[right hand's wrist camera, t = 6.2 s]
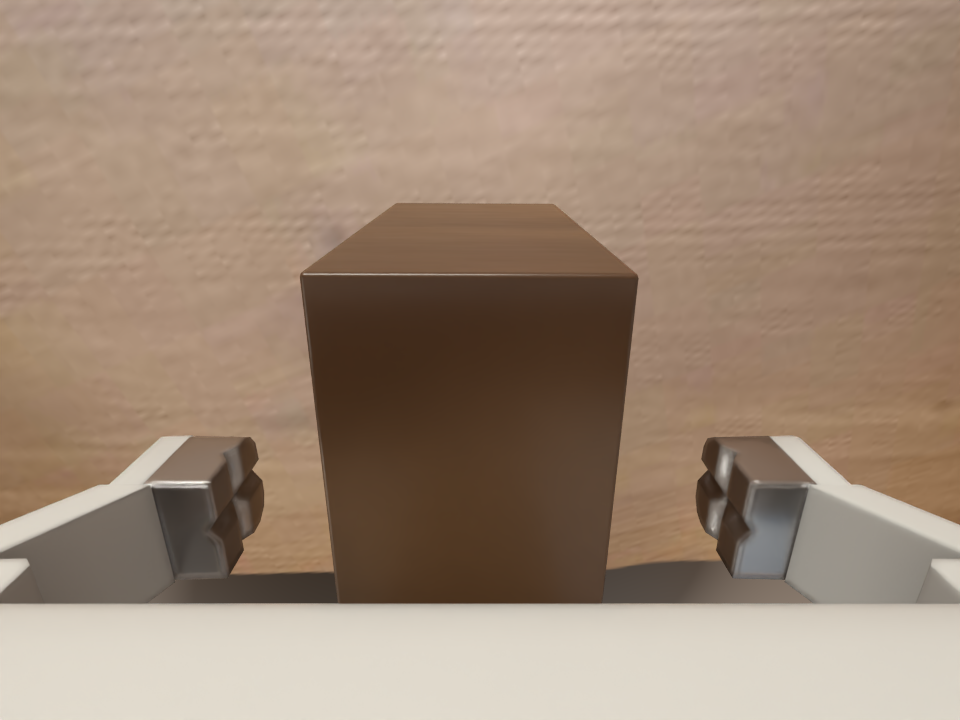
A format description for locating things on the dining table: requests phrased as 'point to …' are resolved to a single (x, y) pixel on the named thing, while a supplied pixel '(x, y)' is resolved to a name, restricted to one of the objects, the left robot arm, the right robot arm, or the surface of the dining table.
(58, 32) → the dining table surface
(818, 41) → the dining table surface
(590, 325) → the box
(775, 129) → the dining table surface
